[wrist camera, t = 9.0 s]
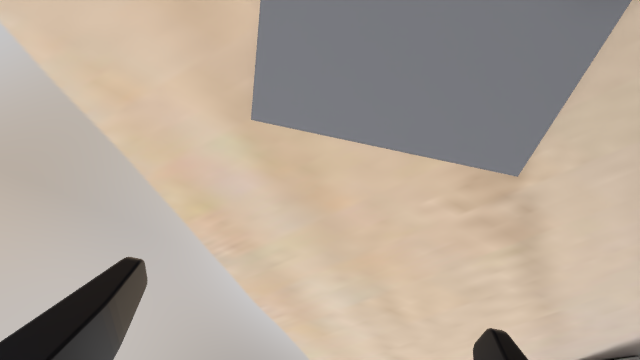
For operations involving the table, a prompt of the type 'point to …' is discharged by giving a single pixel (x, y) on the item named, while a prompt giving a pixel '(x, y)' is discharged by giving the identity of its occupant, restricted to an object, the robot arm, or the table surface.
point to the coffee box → (631, 359)
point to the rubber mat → (428, 72)
